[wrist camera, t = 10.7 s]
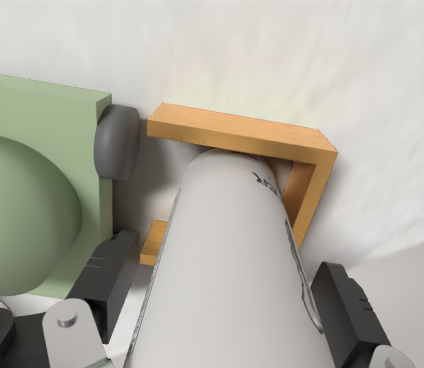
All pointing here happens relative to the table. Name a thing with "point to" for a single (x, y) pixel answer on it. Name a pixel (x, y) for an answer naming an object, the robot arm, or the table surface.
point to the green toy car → (58, 180)
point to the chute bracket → (251, 143)
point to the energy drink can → (228, 277)
